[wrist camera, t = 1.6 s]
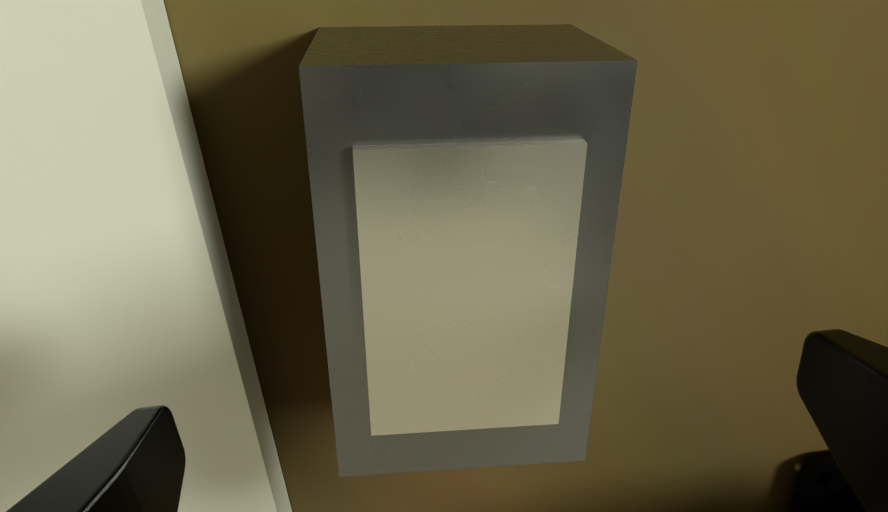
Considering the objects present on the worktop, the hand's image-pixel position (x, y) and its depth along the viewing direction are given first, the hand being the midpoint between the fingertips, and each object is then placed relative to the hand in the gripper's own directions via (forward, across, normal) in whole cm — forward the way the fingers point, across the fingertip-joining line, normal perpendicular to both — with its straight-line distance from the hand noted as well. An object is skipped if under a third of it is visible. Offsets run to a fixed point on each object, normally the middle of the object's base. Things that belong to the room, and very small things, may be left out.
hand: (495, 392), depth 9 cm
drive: (+6, 0, 0) cm, 7 cm away
